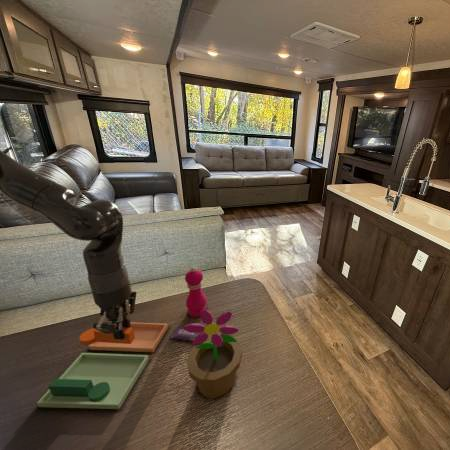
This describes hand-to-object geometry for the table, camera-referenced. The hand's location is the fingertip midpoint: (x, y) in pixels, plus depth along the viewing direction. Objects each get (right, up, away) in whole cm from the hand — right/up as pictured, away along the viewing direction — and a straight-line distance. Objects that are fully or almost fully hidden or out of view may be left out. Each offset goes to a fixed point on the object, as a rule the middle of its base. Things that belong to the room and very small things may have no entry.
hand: (123, 334), depth 67 cm
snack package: (+10, -9, +18) cm, 23 cm away
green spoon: (-9, -15, -2) cm, 17 cm away
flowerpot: (+24, -16, +5) cm, 29 cm away
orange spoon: (-5, -2, +1) cm, 5 cm away
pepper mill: (+8, -4, +29) cm, 30 cm away
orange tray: (-8, -8, +15) cm, 19 cm away
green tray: (-8, -14, +2) cm, 16 cm away
